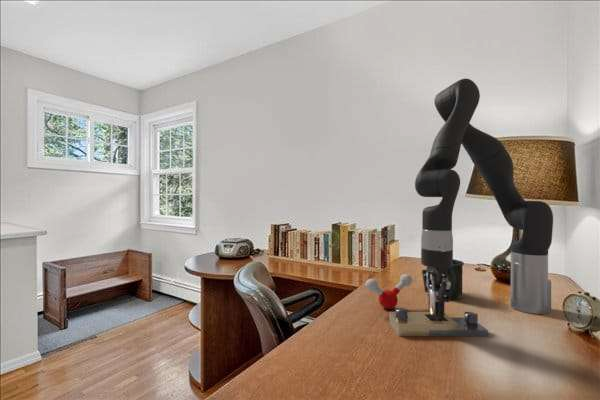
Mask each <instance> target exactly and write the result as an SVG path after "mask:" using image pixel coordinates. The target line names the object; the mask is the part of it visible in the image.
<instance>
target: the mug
mask: <svg viewBox="0 0 600 400" xmlns="http://www.w3.org/2000/svg"><path fill="white" fill-rule="evenodd" d="M464 264H465V263H464V261H461V260H458V259H454V258H453V266H452V267H450V268H447V274H448V280H449V281H452V282H453V283H454V287H453V290H452V294H451V298H450V301H453V300H459V299H461V298H462V297H463V266H464Z"/></svg>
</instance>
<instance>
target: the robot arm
mask: <svg viewBox="0 0 600 400" xmlns="http://www.w3.org/2000/svg"><path fill="white" fill-rule="evenodd" d="M480 98H481V93H480V89H479V87H478V85H477V84H476V82H474V81H473V80H471V79H470V78H461V79H459V80H457V81H456V82H453V83H452V84H450V85H449V86H448V87H446V88H444V89H443V90H441V91H440V92H438V93H437V94H436V95H435V98H434V100H433V101H434V102H433V103H434V106H435V108H436V111H437V113H438V114H439V116H440V117H441V119H442V120H443V121H444V124H443V125H442V126H441V127H440V129H439V131H438V133H437V134H436V136H435V138H434V140H433V142H432V146H431V150H430V153H429V155H428V158H427V159H426V161H425V162H424V164H423V166H422V167H421V168H420V170H419V171H418V173H417V175H416V178H415V182H414V188H415V191H416V193H417V194H418V195H419V196H420V197H422V198H441V200H440V201H439V203H438V204H435V205H432V206H427V207H424V208H423V209H422V214H421V215H422V220H421V222H422V223H421V224H422V227H421V228H422V229H421V237H420V241H421V242H420V263H421V265H422V266H425V267H426V269H422V270H421V275H422V282H423V288H424V292H425V293H427V297H428V311H430V288H429V284H432V291H433V292H434V297H435V316H437V317H444V313H445V303H450V302H451V299H450V298H451V294H452V290H453V287H454V283H453V282H452V281H449V280H448V274H447V268H450V267H452V266H453V259H454V238H453V237H454V236H453V212H454V207H455V202H456V199H457V196H458V194H459V191H460V187H461V178H460V175H459V173H458V172H457V171H456V170H455V169H454V167H456V166H457V164H458V161H459V155H460V151H461V148H462V147H463V148H464V150H465V151H466V153H467V155H468V156H469V158H470V160H471V162H472V164H473V165H474V166H475V168H476V170H477V171H478V173H479V174H480V176H481V177H482V178H483V180H484V182H485V183H486V186H488V188H489V191H490V192H491V194H492V195H493V197H494V199H495V201H496V203H497V205H498V207H499V209H500V211H501V214H502V215H503V218H504V219H505V221H506V222H507V224H508V225H509V226H510V227H512V228H513V229H516V230H521V237H520V238H519V239H518V240H515V241H513V242H511V245H510V296H509V297H510V302H509V304H510V307H511V308H512V309H514V310H516V311H521V312H523V313H528V314H535V315H536V314H537V315H543V314H547V313H552V280H551V279H549V249H550V247H551V245H552V241H553V232H554V231H553V229H554V213H553V210H552V208H551V206H550V205H549V204H548V203H546V202H545V201H541V200H525V199H524V198H523V197H522V196H521V194H520V192H519V191H518V189H517V187H516V186H515V182H514V175H515V173H514V162H513V161H514V160H513V159H512V157H511V155H510V154H509V152H508V150H507V149H506V147H505V146H504V144H503V142H502V141H500V140H499V139H497V138H496V137H495V136H492V135H491V134H489V133H487V132H484V131H482V130H480V129H478V128H477V127H474V126H473V125H472V124H471V120H472V118H473V116H474V114H475V111H476V110H477V108H478V106H479V102H480ZM461 145H462V146H461ZM436 287H437V288H440V289H436ZM438 293H439V295H438Z"/></svg>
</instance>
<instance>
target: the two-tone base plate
mask: <svg viewBox="0 0 600 400" xmlns="http://www.w3.org/2000/svg"><path fill="white" fill-rule="evenodd" d="M388 317H389V318H388V320H389V321H388V323H389V324H390V326H391V328H393V330H394V332H395V333H396V334H397V336H398V337H400V336H401V337H488V336H489V330H488V329H487V328H486V327H485V326H483V325H481V324H480V323H479V322H478V321H479V320H478V318H479V316H478V314H477V313H476V312H472V311H465V312H464V317H449V315H447V314H446V312H444V317H442V321H431V320H430V311H408V309H407V308H404V307H396V308H395V311H389V313H388Z"/></svg>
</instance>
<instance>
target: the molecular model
mask: <svg viewBox="0 0 600 400" xmlns="http://www.w3.org/2000/svg"><path fill="white" fill-rule="evenodd" d="M412 283H413V278H412V277H411V275H410V274H407V273H404V274H402V275H401V276H400V277H399V282H398V284H396V286H395V287H394V288H393V289H392V290H390V289H384V290H383V289H381V288H380V286H379V282H378V281H377V280H376V279H375V278H369V279H367V280H366V281H365V288H366V290H367V291H369V292H372V293H373V292H374V293H375V294H377V295H378V303H379V305H381V306H382V308H383V309H387V310H391V309H394V308H395V307H396V306H397V305H398V301H399V299H398V296H397V295H398V294H399V293H400V292H401V290H403V289H404V287H405V286H406V287H408V286H411V285H412Z"/></svg>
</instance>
